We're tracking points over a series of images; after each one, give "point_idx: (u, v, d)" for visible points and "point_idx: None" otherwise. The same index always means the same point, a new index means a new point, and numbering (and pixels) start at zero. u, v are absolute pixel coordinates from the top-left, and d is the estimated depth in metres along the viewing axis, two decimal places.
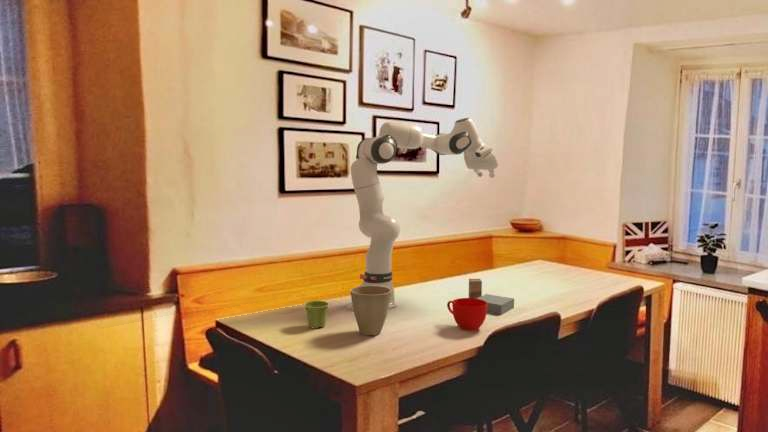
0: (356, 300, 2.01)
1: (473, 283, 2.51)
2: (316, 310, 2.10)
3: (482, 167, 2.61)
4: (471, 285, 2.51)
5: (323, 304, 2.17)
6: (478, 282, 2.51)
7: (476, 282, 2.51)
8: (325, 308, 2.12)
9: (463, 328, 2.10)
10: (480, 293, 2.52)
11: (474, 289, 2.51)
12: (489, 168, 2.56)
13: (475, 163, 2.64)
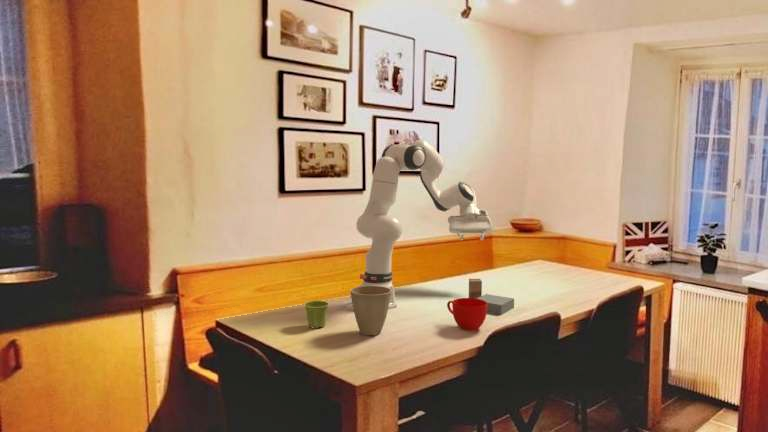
0: (356, 300, 2.01)
1: (473, 283, 2.51)
2: (316, 310, 2.10)
3: (477, 226, 2.66)
4: (471, 285, 2.51)
5: (323, 304, 2.17)
6: (478, 282, 2.51)
7: (476, 282, 2.51)
8: (325, 308, 2.12)
9: (463, 328, 2.10)
10: (480, 293, 2.52)
11: (474, 289, 2.51)
12: (488, 227, 2.66)
13: (467, 223, 2.67)
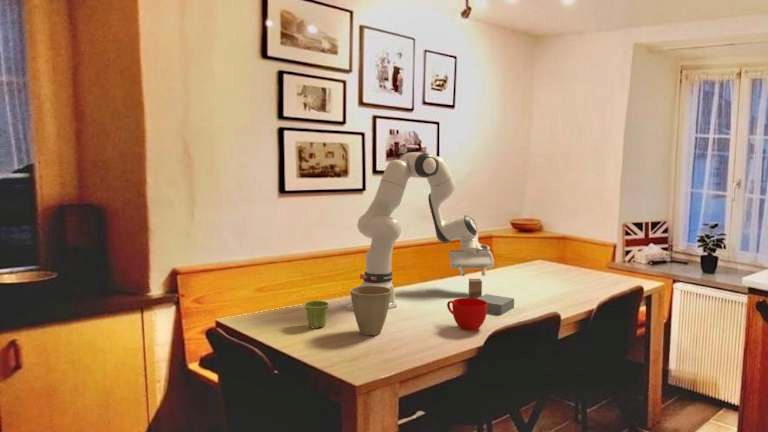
0: (356, 300, 2.01)
1: (473, 283, 2.51)
2: (316, 310, 2.10)
3: (478, 262, 2.62)
4: (471, 285, 2.51)
5: (323, 304, 2.17)
6: (478, 282, 2.51)
7: (476, 282, 2.51)
8: (325, 308, 2.12)
9: (463, 328, 2.10)
10: (480, 293, 2.52)
11: (474, 289, 2.51)
12: (489, 262, 2.61)
13: (468, 258, 2.63)
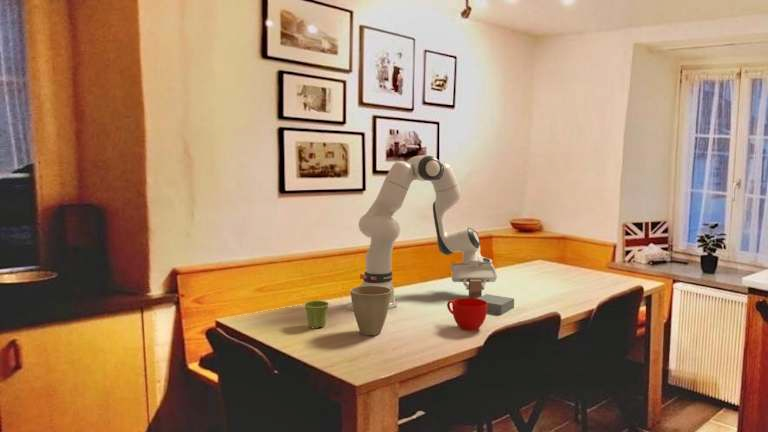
0: (356, 300, 2.01)
1: (473, 283, 2.51)
2: (316, 310, 2.10)
3: (480, 275, 2.56)
4: (471, 285, 2.51)
5: (323, 304, 2.17)
6: (478, 282, 2.51)
7: (476, 282, 2.51)
8: (325, 308, 2.12)
9: (463, 328, 2.10)
10: (480, 293, 2.52)
11: (474, 289, 2.51)
12: (492, 276, 2.55)
13: (471, 271, 2.57)
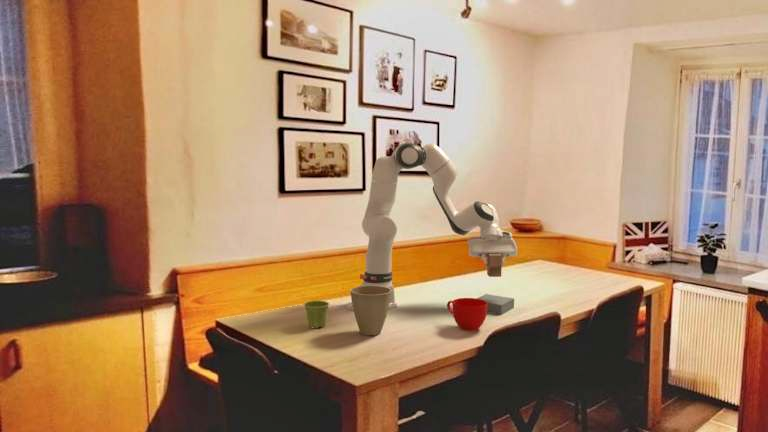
0: (356, 300, 2.01)
1: (492, 257, 2.35)
2: (316, 310, 2.10)
3: (500, 249, 2.39)
4: (490, 259, 2.35)
5: (323, 304, 2.17)
6: (498, 256, 2.35)
7: (496, 256, 2.35)
8: (325, 308, 2.12)
9: (463, 328, 2.10)
10: (500, 268, 2.35)
11: (494, 264, 2.35)
12: (512, 250, 2.39)
13: (489, 246, 2.41)
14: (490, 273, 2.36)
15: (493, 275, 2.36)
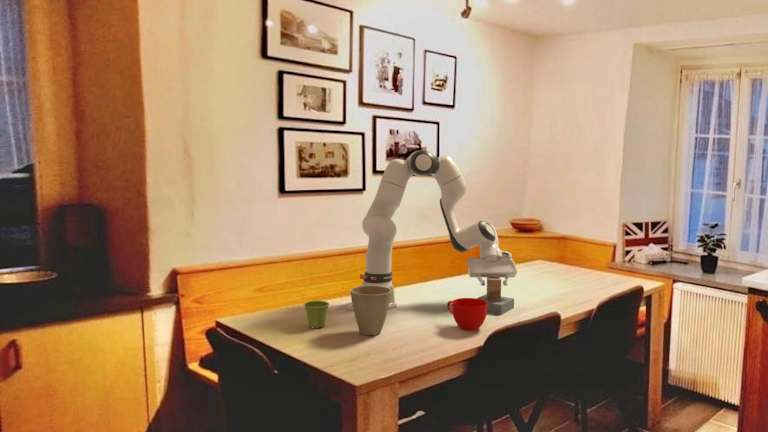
0: (356, 300, 2.01)
1: (492, 282, 2.36)
2: (316, 310, 2.10)
3: (499, 270, 2.40)
4: (490, 284, 2.36)
5: (323, 304, 2.17)
6: (497, 281, 2.36)
7: (495, 281, 2.36)
8: (325, 308, 2.12)
9: (463, 328, 2.10)
10: (499, 292, 2.36)
11: (493, 288, 2.36)
12: (512, 271, 2.40)
13: (489, 266, 2.42)
14: (489, 297, 2.37)
15: (492, 299, 2.37)
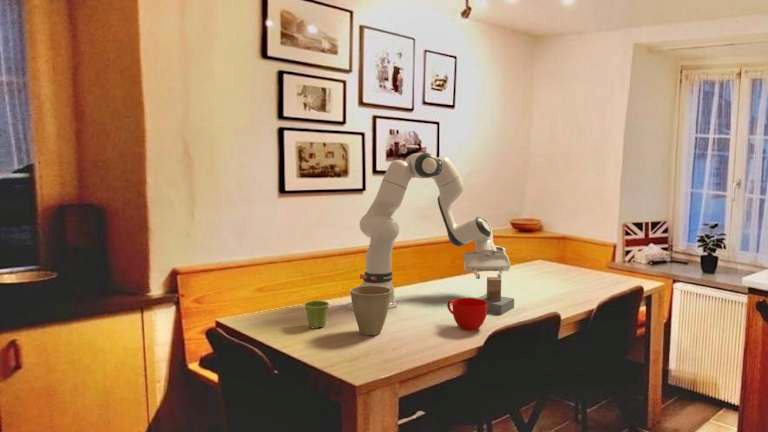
0: (356, 300, 2.01)
1: (492, 282, 2.36)
2: (316, 310, 2.10)
3: (494, 264, 2.53)
4: (490, 284, 2.36)
5: (323, 304, 2.17)
6: (497, 281, 2.36)
7: (495, 281, 2.36)
8: (325, 308, 2.12)
9: (463, 328, 2.10)
10: (499, 292, 2.36)
11: (493, 288, 2.36)
12: (505, 265, 2.53)
13: (484, 260, 2.54)
14: (489, 297, 2.37)
15: (492, 299, 2.37)
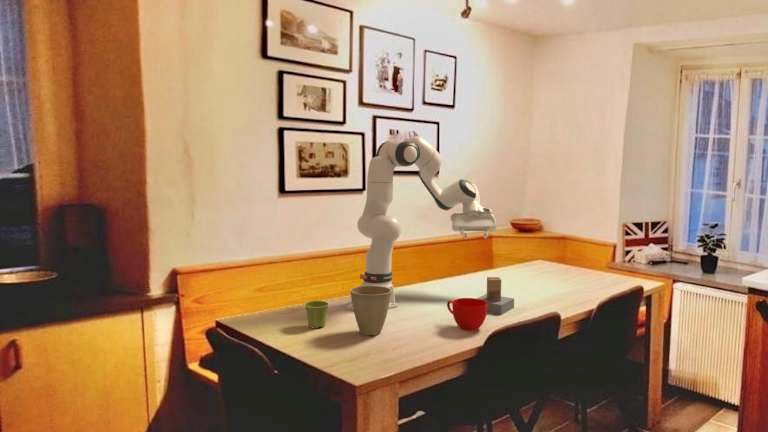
0: (356, 300, 2.01)
1: (492, 282, 2.36)
2: (316, 310, 2.10)
3: (480, 224, 2.59)
4: (490, 284, 2.36)
5: (323, 304, 2.17)
6: (497, 281, 2.36)
7: (495, 281, 2.36)
8: (325, 308, 2.12)
9: (463, 328, 2.10)
10: (499, 292, 2.36)
11: (493, 288, 2.36)
12: (492, 225, 2.59)
13: (471, 221, 2.60)
14: (489, 297, 2.37)
15: (492, 299, 2.37)
